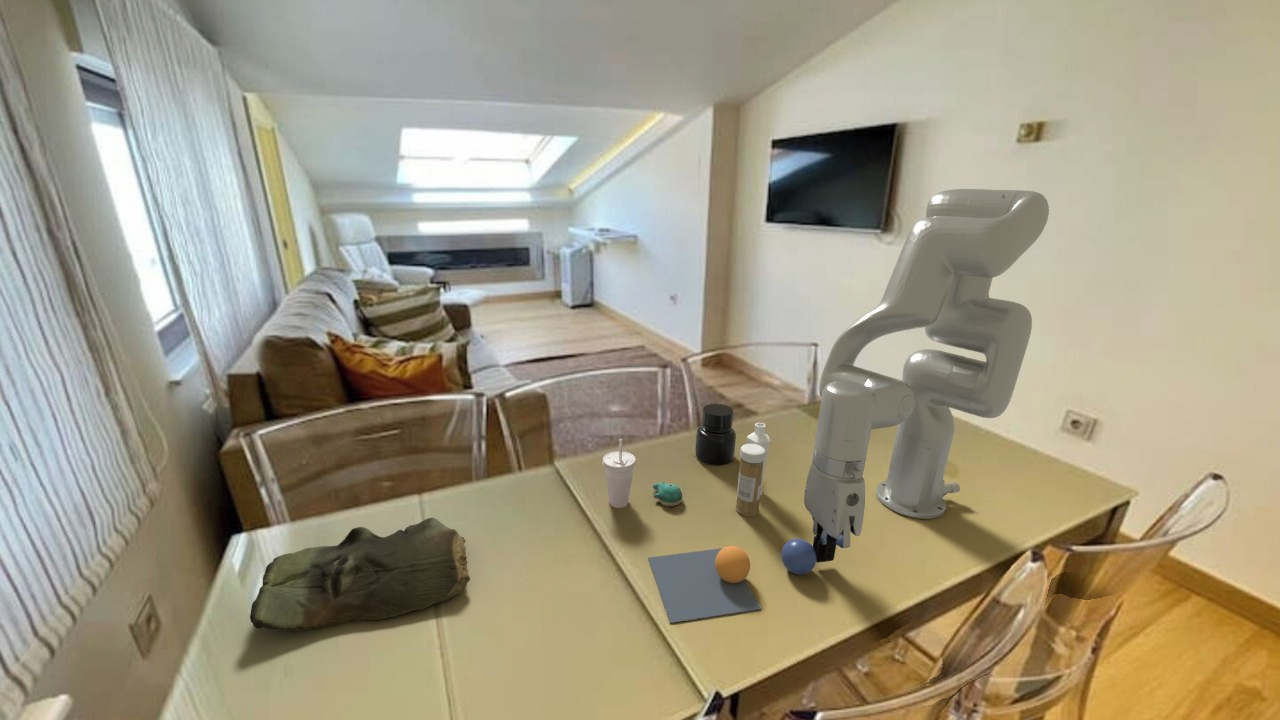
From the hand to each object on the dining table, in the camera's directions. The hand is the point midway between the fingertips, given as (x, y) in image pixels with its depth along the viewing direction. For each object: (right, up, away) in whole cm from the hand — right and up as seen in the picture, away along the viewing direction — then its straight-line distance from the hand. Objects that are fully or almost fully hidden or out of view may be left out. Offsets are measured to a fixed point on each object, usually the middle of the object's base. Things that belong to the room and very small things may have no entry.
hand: (822, 558), depth 87 cm
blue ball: (-4, +1, -2) cm, 5 cm away
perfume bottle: (-7, +6, +21) cm, 23 cm away
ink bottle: (-13, +10, +35) cm, 38 cm away
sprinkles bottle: (-10, +3, +15) cm, 18 cm away
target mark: (-21, -2, -4) cm, 21 cm away
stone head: (-72, -2, -5) cm, 72 cm away
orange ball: (-16, 0, -4) cm, 16 cm away
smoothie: (-34, +5, +16) cm, 38 cm away
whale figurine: (-25, +5, +19) cm, 31 cm away
